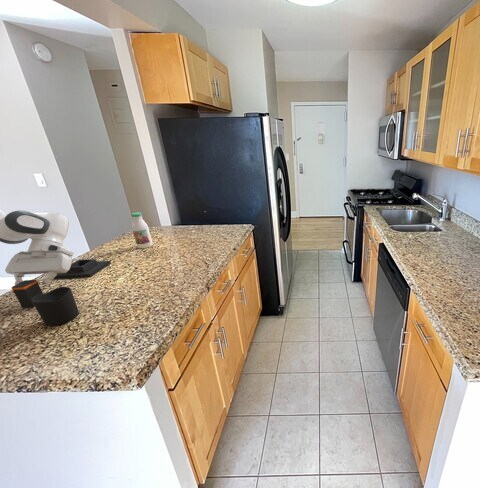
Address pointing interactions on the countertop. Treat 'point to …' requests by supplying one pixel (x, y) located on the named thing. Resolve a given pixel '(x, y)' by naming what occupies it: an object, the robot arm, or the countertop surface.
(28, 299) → the black orange block
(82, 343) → the countertop surface
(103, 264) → the connector base
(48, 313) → the pen holder
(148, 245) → the milk bottle
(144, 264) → the countertop surface
